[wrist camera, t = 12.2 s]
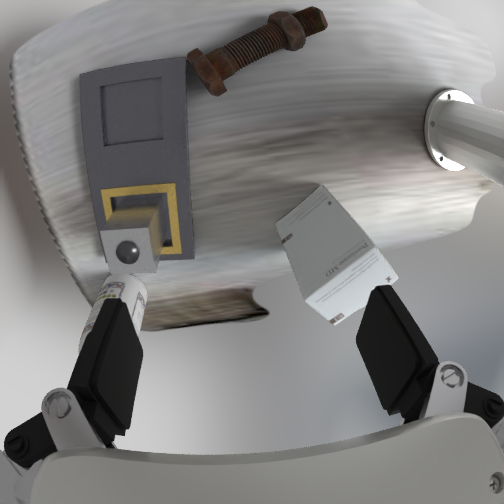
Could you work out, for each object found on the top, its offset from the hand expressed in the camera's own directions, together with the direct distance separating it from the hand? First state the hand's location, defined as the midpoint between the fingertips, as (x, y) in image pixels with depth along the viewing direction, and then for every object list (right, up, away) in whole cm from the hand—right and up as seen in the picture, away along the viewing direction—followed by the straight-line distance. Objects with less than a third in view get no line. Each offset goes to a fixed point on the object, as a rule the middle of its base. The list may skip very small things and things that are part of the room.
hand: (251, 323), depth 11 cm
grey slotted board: (-13, +13, +21) cm, 28 cm away
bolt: (+1, +25, +16) cm, 30 cm away
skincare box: (+8, +7, +27) cm, 29 cm away
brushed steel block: (-13, +7, +23) cm, 27 cm away
